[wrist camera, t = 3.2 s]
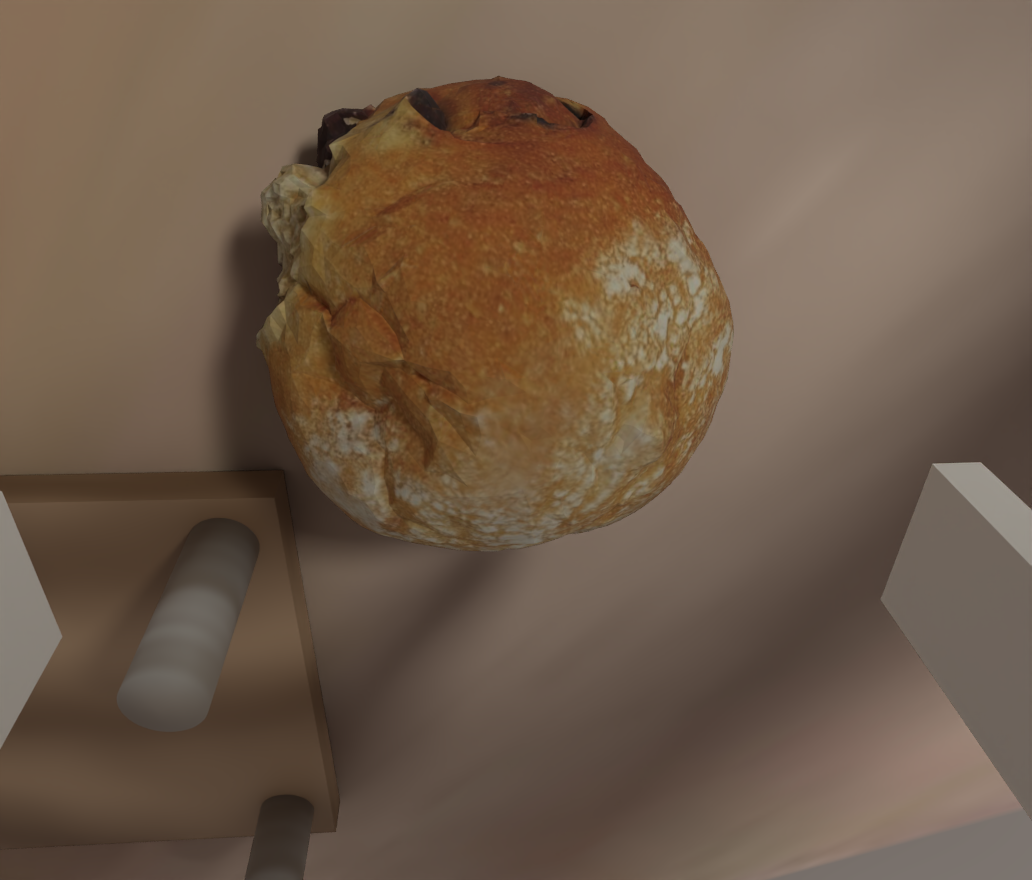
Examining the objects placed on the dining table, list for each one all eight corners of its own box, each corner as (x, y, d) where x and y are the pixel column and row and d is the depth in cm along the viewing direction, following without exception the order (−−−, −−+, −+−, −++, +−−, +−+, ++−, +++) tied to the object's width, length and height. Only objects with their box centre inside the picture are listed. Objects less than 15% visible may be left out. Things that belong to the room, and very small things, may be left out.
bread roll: (377, 407, 24) (417, 657, 19) (135, 153, 15) (112, 501, 11) (682, 283, 22) (799, 524, 18) (604, -77, 14) (793, 221, 9)
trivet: (-326, 481, 19) (-615, 681, 14) (283, 470, 20) (224, 651, 15) (-85, 821, 27) (-212, 1026, 22) (340, 800, 28) (314, 991, 23)
